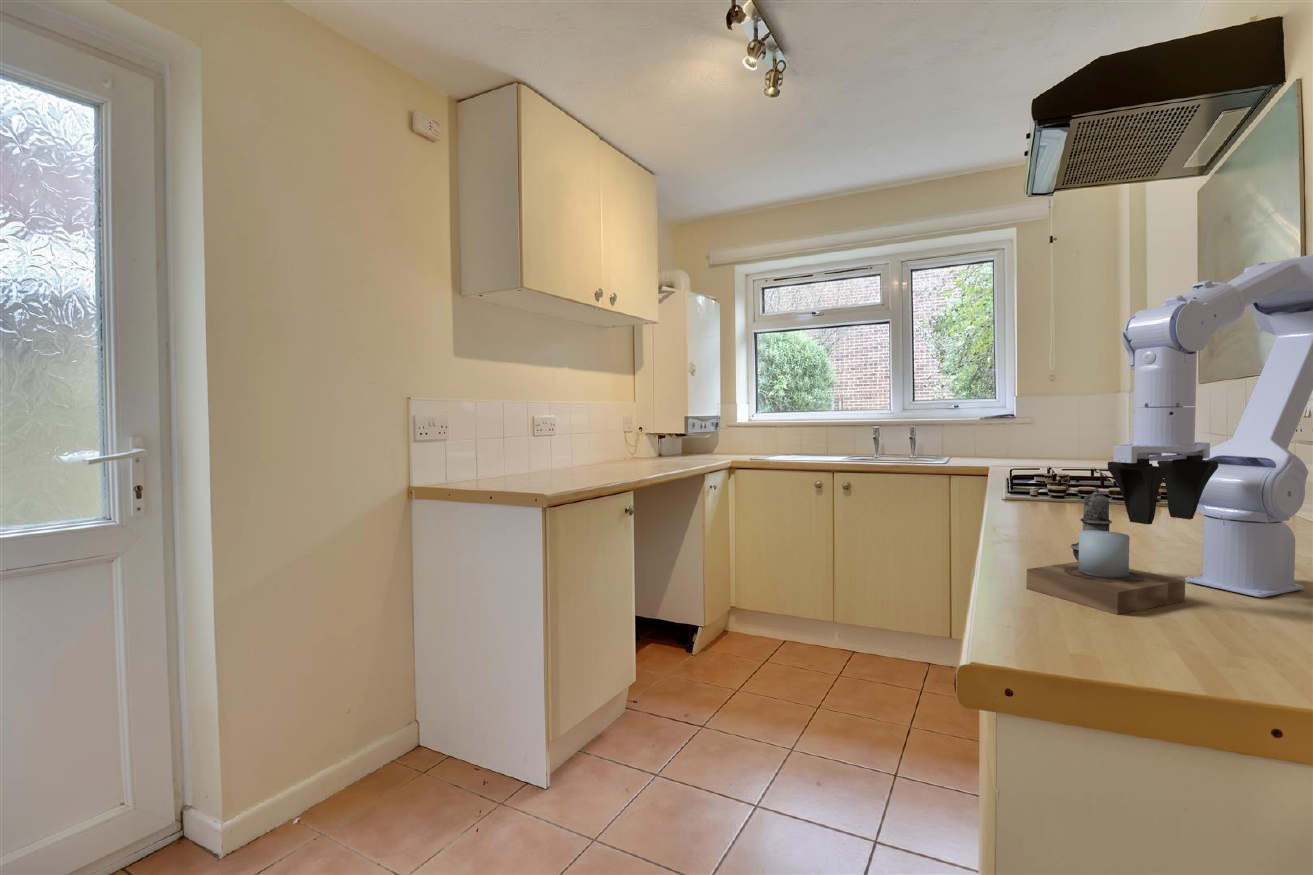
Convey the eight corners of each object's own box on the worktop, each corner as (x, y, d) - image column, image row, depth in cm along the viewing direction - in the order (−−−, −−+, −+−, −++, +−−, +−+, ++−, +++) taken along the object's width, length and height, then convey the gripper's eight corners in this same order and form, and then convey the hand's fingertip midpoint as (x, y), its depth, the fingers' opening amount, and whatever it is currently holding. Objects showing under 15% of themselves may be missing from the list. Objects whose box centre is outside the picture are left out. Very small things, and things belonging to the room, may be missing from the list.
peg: (1095, 585, 79) (1096, 528, 79) (1138, 596, 74) (1140, 536, 74) (1067, 589, 77) (1068, 532, 77) (1110, 601, 72) (1111, 539, 72)
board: (1090, 578, 83) (1090, 559, 83) (1184, 601, 73) (1185, 580, 73) (1026, 588, 79) (1026, 568, 79) (1117, 614, 69) (1117, 592, 68)
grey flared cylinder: (1131, 579, 82) (1132, 490, 82) (1082, 578, 83) (1083, 489, 83) (1107, 568, 88) (1108, 485, 88) (1061, 567, 89) (1062, 484, 89)
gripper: (1165, 407, 80) (1162, 511, 80) (1088, 408, 75) (1086, 519, 75) (1231, 406, 73) (1229, 519, 74) (1152, 407, 68) (1150, 529, 69)
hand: (1161, 520), depth 74 cm, fingers open, 7 cm apart
